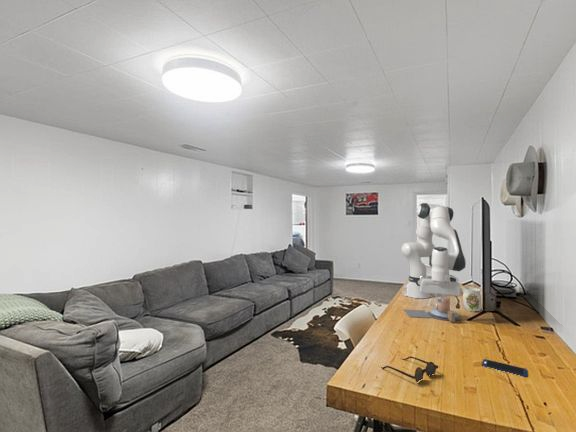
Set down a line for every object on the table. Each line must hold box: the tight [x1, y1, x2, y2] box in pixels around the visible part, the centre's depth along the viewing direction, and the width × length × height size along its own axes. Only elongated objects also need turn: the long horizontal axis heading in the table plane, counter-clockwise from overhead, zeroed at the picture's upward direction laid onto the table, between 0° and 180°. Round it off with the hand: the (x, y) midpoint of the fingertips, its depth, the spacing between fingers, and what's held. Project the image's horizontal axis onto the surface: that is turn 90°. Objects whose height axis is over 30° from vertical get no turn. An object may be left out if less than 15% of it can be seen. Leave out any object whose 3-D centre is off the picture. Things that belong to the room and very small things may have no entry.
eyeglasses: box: [380, 355, 439, 383], centre depth 116 cm, size 15×15×5 cm
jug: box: [436, 296, 451, 314], centre depth 185 cm, size 6×12×8 cm, turn 175°
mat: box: [402, 309, 433, 319], centre depth 186 cm, size 14×12×1 cm
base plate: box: [427, 311, 462, 322], centre depth 183 cm, size 17×17×1 cm
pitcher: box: [460, 285, 482, 312], centre depth 196 cm, size 11×18×14 cm, turn 61°
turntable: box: [429, 302, 459, 323], centre depth 180 cm, size 20×14×5 cm
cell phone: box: [481, 358, 528, 378], centre depth 119 cm, size 7×14×1 cm, turn 54°
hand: (439, 302), depth 176 cm, fingers closed
